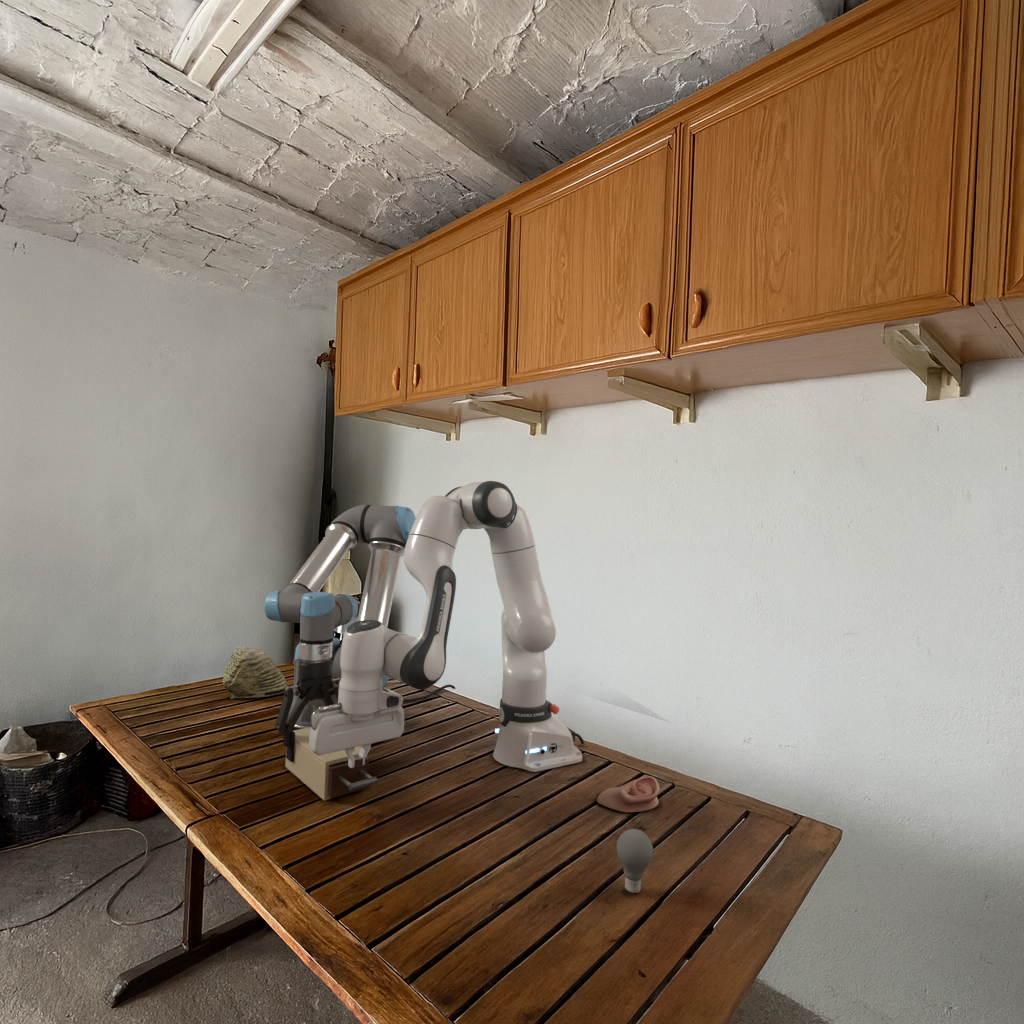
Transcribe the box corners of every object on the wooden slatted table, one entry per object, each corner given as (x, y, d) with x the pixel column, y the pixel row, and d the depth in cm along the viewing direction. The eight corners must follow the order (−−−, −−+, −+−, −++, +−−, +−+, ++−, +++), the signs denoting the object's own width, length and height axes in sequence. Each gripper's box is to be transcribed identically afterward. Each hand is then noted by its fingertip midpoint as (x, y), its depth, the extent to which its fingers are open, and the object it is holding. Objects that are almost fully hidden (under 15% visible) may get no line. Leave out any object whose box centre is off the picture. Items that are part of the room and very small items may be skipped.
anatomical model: (596, 789, 133) (599, 767, 145) (595, 808, 134) (599, 785, 145) (660, 798, 131) (659, 775, 142) (659, 817, 131) (658, 792, 142)
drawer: (382, 798, 132) (383, 768, 132) (344, 810, 127) (345, 779, 126) (328, 757, 151) (329, 731, 151) (293, 766, 146) (294, 739, 145)
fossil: (218, 695, 195) (220, 647, 195) (278, 685, 208) (279, 640, 207) (228, 703, 189) (230, 653, 188) (289, 692, 201) (290, 645, 201)
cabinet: (366, 788, 139) (367, 751, 138) (324, 800, 132) (325, 762, 132) (324, 756, 154) (326, 723, 154) (285, 766, 147) (286, 732, 147)
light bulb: (610, 879, 108) (613, 822, 108) (644, 879, 109) (647, 822, 109) (619, 902, 102) (622, 840, 102) (655, 901, 103) (658, 840, 103)
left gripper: (273, 669, 137) (270, 771, 138) (366, 656, 152) (363, 748, 153) (261, 662, 143) (257, 760, 143) (351, 650, 158) (348, 738, 158)
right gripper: (318, 712, 122) (314, 784, 122) (409, 696, 135) (406, 760, 136) (305, 703, 127) (301, 772, 127) (394, 688, 140) (391, 750, 140)
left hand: (311, 754), depth 148 cm, fingers closed on cabinet, 10 cm apart
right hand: (356, 765), depth 131 cm, fingers closed
